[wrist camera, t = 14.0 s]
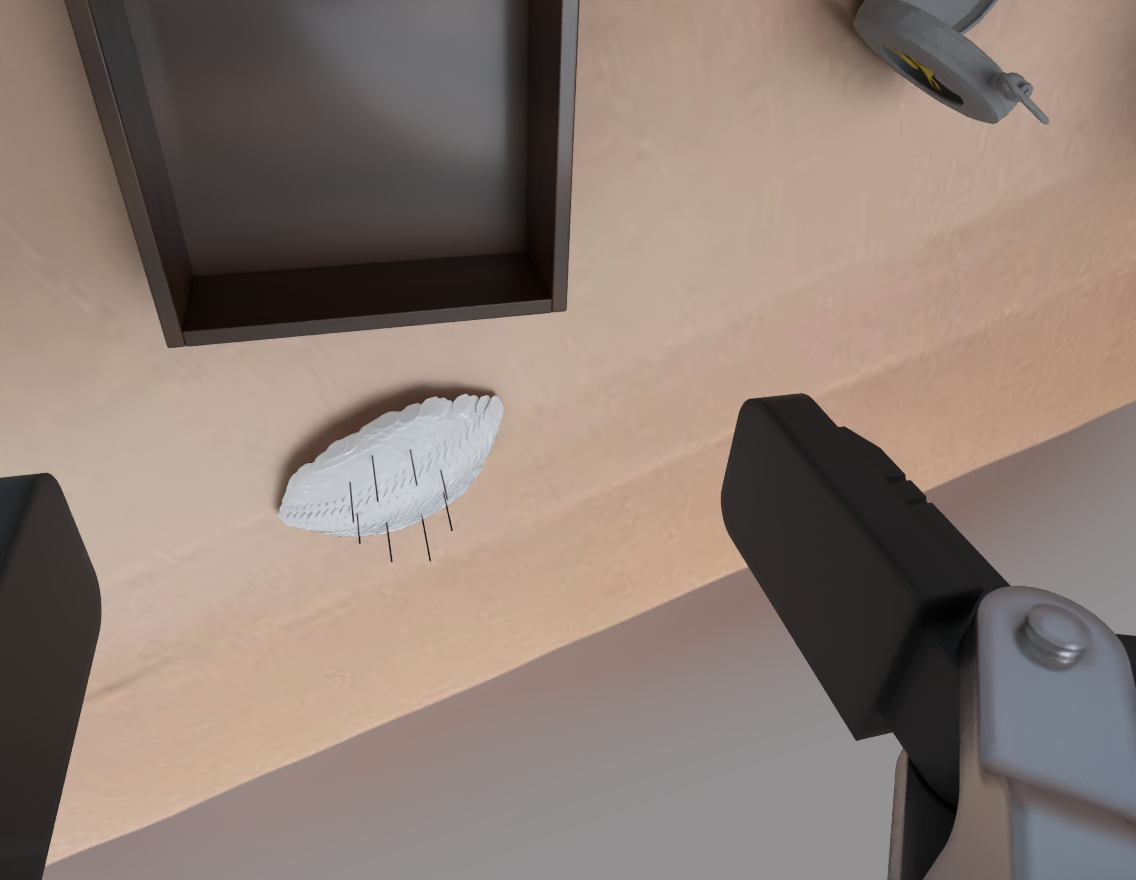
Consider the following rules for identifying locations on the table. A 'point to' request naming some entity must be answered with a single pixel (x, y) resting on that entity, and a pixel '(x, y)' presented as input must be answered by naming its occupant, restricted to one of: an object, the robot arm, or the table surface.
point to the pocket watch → (943, 54)
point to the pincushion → (394, 469)
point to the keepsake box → (338, 158)
